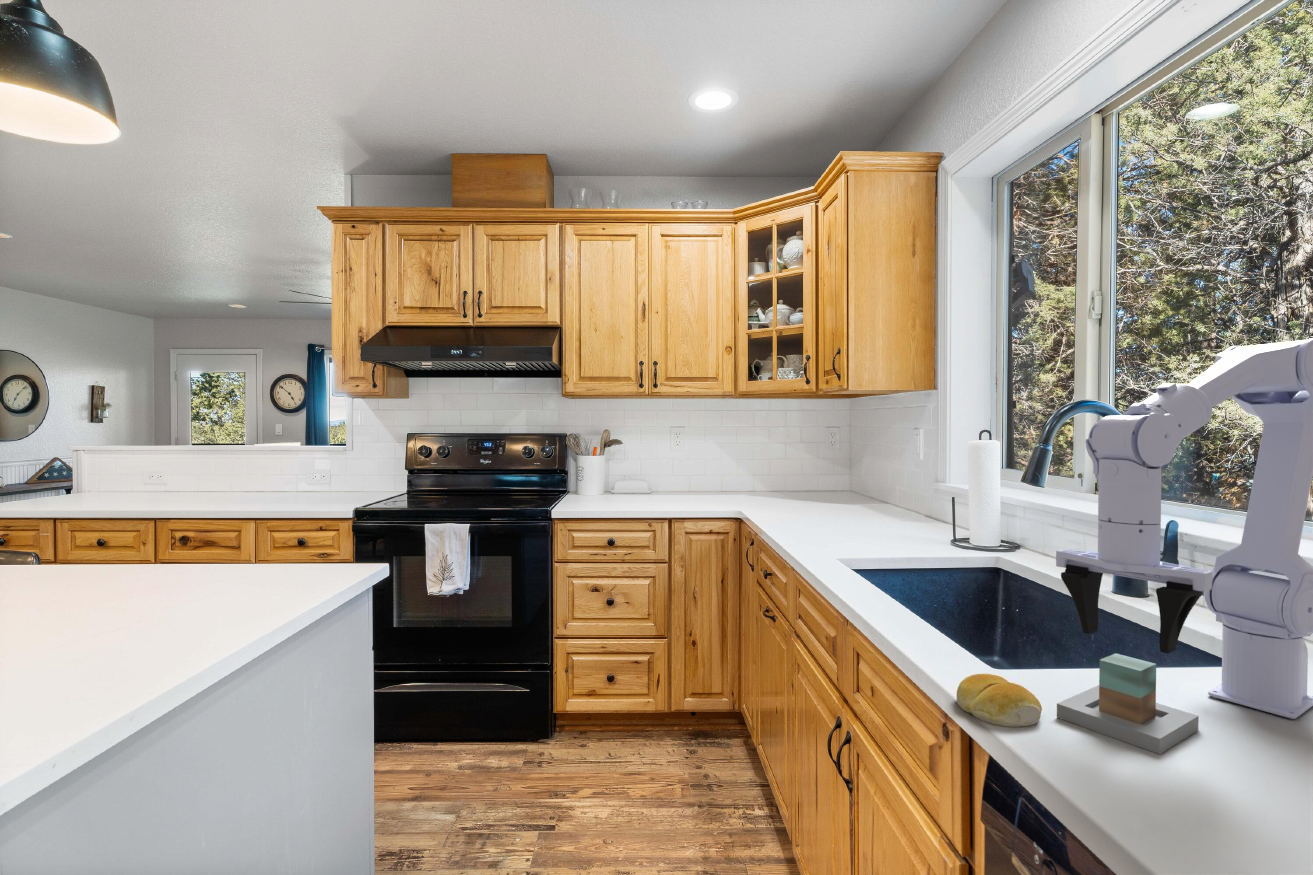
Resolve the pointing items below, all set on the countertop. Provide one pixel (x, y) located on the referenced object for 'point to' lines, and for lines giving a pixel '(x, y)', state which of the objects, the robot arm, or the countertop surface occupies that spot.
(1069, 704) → the base plate
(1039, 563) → the countertop surface
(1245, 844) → the countertop surface
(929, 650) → the countertop surface
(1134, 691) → the brick stack
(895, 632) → the countertop surface
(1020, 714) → the bread roll
